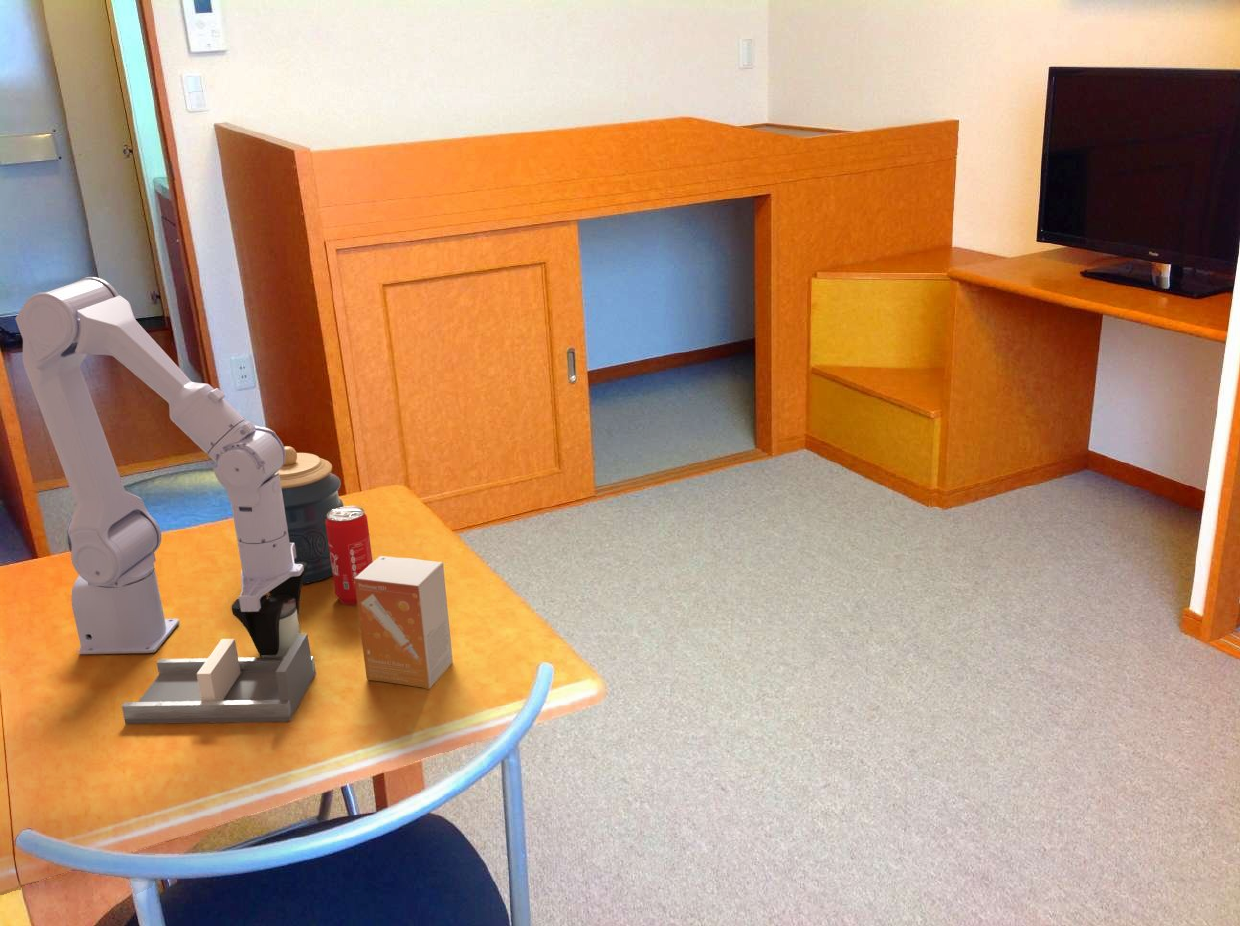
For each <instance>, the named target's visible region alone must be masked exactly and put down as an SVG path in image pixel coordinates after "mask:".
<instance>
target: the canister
mask: <svg viewBox="0 0 1240 926" xmlns="http://www.w3.org/2000/svg"><path fill="white" fill-rule="evenodd" d="M284 448H285V452H286V458H285V462H284V464H283V466H282V467H281V468H280V470H279V471H278V472H277V473H279V476H280V482H281V489H282V495H283V502H284V508H285V515H286V521H287V528H288V535H289V542H290V543H295V550H296V556H297V557H296V558H295V559H294V562H305V563H307V570H306V573H305V575H304V578H303V582H302V585H305V584H310V583H315V582H316V583H317V582H318V581H323V580H325V579H328V578H330V577H333V573H332V566H331V559H330V551H329V544H328V537H327V530H326V519H327V514H328V512H330V511H331V510H333V509H336V508H340V507H345V506H344V505H345V504H344V502H343V500H342V499H341V498H340V496H339V492H338V491H339V489H340V488H341V479H340V477H338V476H337V475H336V474H334V473H333V472H332V470H333V465H332V463H331V462H330V461H329V460H326V459H324V458H321V457H319V456H318V455H316V454H313V453H310V452H309V453H308V452H297V451H296V450H295V448H294V447H292V446H290V445H289V446H288V445H286V446H284ZM277 473H275V474H274V475H276V474H277Z"/></svg>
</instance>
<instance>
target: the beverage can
mask: <svg viewBox="0 0 1240 926" xmlns="http://www.w3.org/2000/svg"><path fill="white" fill-rule="evenodd" d="M326 530H327V537H328V544H329V551H330V559H331V566H332V573H333V575H332V578H333V586H334V587H333V588H334V592H335V593H334V594H335V596H336V598H337V599H339V603H340V604H341V605H344V606H358V605H357V597H356V588H355V580H354V578H355V577H356V576H358V575H359V574H360V573H361V572H362V571H363V570H364V569H365V568H366V567H368V566H369V565H370V564H371V563H372V562H373V554H372V553H373V552H372V547H371V546H372V545H371V538H370V528H369V521H368V515H367V514H366V513H365V509H363V507H360V506H357V505H356V506H355V505H349V506H348V505H346V506H344V507H340V508H336V509H333V510H331V511H330V512H328V514H327V519H326Z"/></svg>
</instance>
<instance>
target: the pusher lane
mask: <svg viewBox="0 0 1240 926" xmlns="http://www.w3.org/2000/svg"><path fill="white" fill-rule="evenodd" d="M309 640H310V639H309V634H308V632H307V633H300V634H298V636H297V637H296V639H295V641H294V642H293V644H292V646H291V647H290V649H289V651H288V652H287V654H286V656H285V657H262V656H258V657H255V656H254V657H253V656H252V657H248V656H247V657H238V660H239V666H240V671H241V673H240V675H239V676H238V678H237V679H236V681H235V682H234V684H233V685H232V687H231V689H230V690H229V692H228V693H227V695H226V696H225V698H224V699H223V701H202V700H201V695H200V690H199V684H198V679H197V673H198V671H199V670H200V668H201V667H202V666H203V664H204V663H205V662H206V660H207V659H208V657H204V658H203V657H202V658H201V657H200V658H199V657H197V658H194V657H193V658H192V657H191V658H159V659H158V660H157V662H156V666H157V671H158V676H156V678H155V679H154V681H153V682H152V683H151V685H150V686H149V687H148V688H147V689H146V691H145V692H144V694H143V695H142V696H141V697H140V698H139V700H138V701H128V702H127V701H125V702H123V704H122V705H121V709H122V714H123V720H124V723H125V725H133V724H134V725H140V724H141V725H144V724H146V725H147V724H205V723H209V724H211V723H217V724H218V723H270V722H271V723H272V722H273V723H274V722H275V723H276V722H277V723H278V722H280V723H281V722H291V720H292V718H293V717H294V714H295V712H296V710H298V707H299V705H300V703H301V701H302V699H303V698H304V696H305V694H306V692H307V691H308V689H309V687H310V684H311V683H312V681H313V679H314V678H315V676H316V673H317V670H316V666H315V665H316V664H315V657H314V656H312V654H311V647H310V641H309Z"/></svg>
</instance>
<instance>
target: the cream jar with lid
mask: <svg viewBox="0 0 1240 926" xmlns="http://www.w3.org/2000/svg"><path fill="white" fill-rule="evenodd" d="M266 596H267V599H270V601H284V604H283V607H282V610H281V614H280V620H279V650H278V653H277V655H260V657H285V656H286V654H287V652H288V651H289V649H290V647H291V646H292V644H293V642H294V641H295V639H296V637H297V636H298V634H301V629H300V628H301V627H300V623H299V614H298V615H297V608H296V602H295V598H294V597H292V596H290V595H285V594H277V595H270V594H269V595H266Z"/></svg>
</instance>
